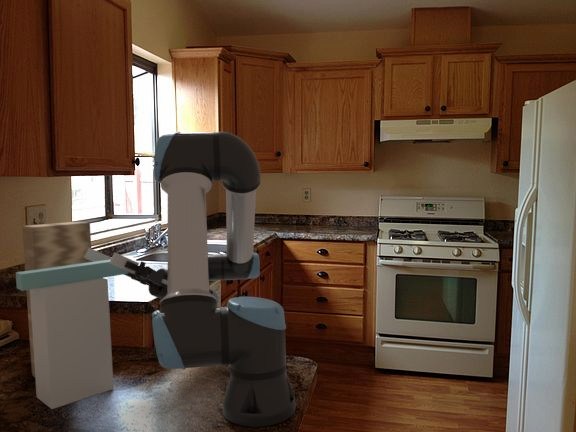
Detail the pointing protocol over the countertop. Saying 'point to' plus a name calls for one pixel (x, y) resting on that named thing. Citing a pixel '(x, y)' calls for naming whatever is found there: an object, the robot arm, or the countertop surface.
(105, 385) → the step block
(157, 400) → the countertop surface
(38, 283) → the teal block
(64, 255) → the oak block
